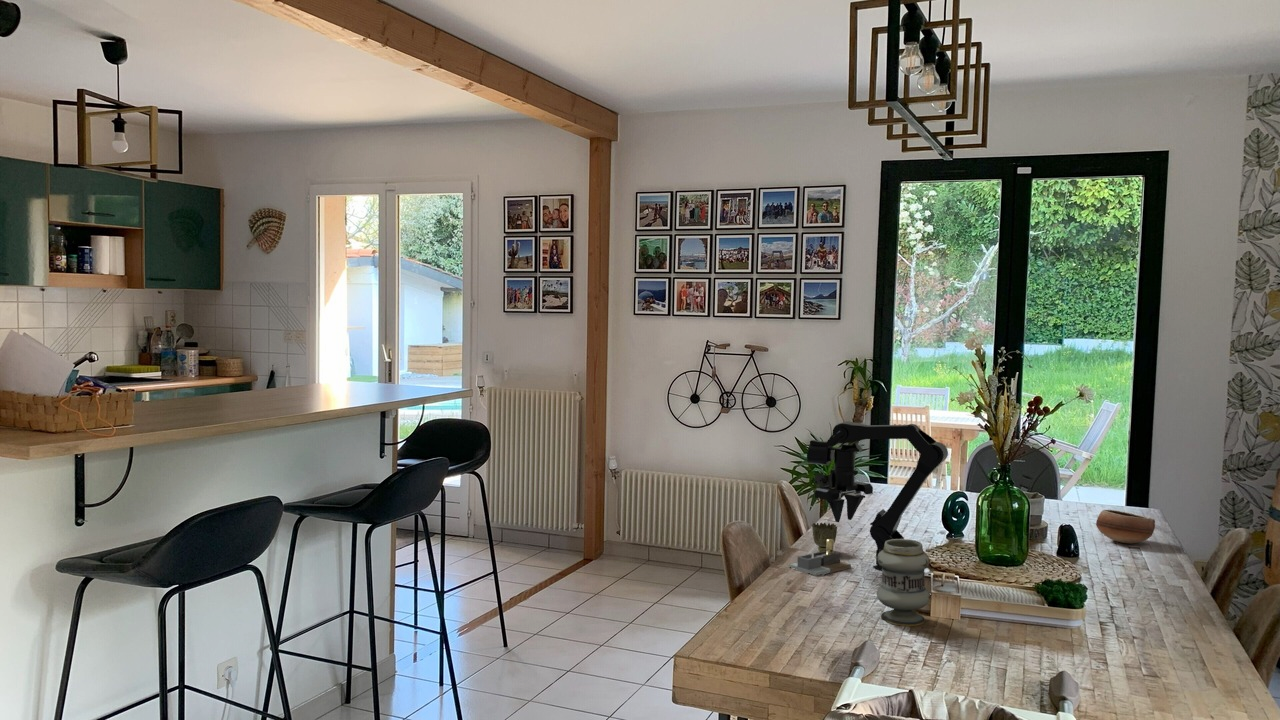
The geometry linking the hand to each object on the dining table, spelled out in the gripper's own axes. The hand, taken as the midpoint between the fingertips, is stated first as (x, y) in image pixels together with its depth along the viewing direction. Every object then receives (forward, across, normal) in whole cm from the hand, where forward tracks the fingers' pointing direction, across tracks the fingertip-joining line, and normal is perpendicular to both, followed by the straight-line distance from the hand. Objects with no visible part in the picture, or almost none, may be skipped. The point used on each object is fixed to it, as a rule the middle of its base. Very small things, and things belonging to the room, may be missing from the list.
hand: (843, 520), depth 270 cm
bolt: (+11, +8, 0) cm, 13 cm away
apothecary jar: (+12, +28, +42) cm, 52 cm away
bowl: (+12, -90, +35) cm, 98 cm away
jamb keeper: (+12, +14, 0) cm, 18 cm away
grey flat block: (+12, +6, 0) cm, 14 cm away
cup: (+12, -6, -12) cm, 18 cm away
